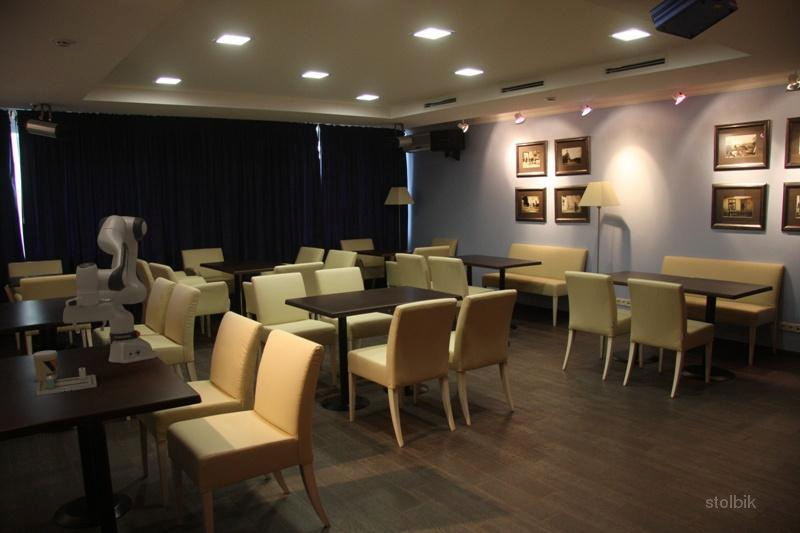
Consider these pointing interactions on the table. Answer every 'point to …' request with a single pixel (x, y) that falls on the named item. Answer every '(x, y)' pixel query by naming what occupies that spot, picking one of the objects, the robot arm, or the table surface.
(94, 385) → the console
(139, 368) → the table surface
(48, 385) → the fader
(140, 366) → the table surface
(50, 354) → the coffee cup
